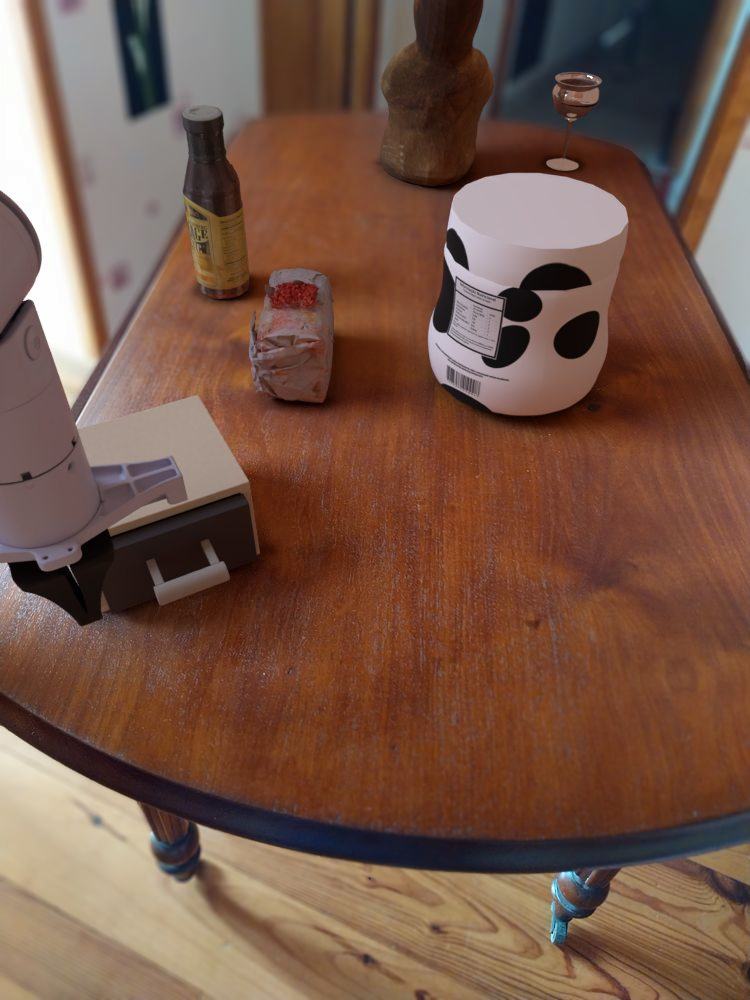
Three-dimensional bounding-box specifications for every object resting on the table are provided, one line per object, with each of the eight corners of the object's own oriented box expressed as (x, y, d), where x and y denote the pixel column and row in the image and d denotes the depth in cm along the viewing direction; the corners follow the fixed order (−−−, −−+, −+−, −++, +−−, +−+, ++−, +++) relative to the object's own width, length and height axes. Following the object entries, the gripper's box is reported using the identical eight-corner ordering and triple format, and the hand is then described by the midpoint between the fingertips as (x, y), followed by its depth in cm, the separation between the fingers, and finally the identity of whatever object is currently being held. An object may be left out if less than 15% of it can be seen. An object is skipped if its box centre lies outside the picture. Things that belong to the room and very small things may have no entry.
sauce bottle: (192, 281, 90) (160, 103, 76) (242, 271, 92) (220, 95, 78) (207, 308, 86) (177, 125, 72) (259, 297, 88) (240, 116, 74)
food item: (334, 412, 73) (331, 324, 66) (252, 412, 73) (240, 324, 66) (336, 334, 83) (334, 250, 76) (264, 334, 82) (254, 250, 75)
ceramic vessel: (472, 147, 121) (496, -87, 100) (496, 207, 106) (530, -55, 84) (375, 148, 120) (378, -87, 99) (384, 208, 105) (390, -55, 83)
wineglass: (534, 157, 119) (548, 72, 110) (575, 154, 119) (591, 71, 111) (548, 174, 114) (564, 87, 105) (591, 171, 115) (609, 85, 106)
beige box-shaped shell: (260, 554, 60) (249, 481, 54) (102, 613, 56) (72, 541, 50) (212, 466, 67) (198, 394, 62) (69, 512, 63) (39, 439, 57)
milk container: (585, 337, 83) (626, 172, 70) (605, 439, 71) (659, 262, 58) (428, 328, 84) (440, 163, 71) (421, 427, 71) (435, 250, 59)
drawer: (277, 595, 56) (269, 539, 52) (125, 655, 52) (103, 600, 48) (213, 477, 65) (202, 420, 61) (79, 521, 61) (57, 464, 57)
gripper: (-147, 551, 32) (-29, 713, 41) (187, 448, 36) (222, 614, 46) (-153, 451, 36) (-45, 619, 46) (146, 371, 41) (186, 538, 50)
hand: (88, 611), depth 46 cm, fingers closed
